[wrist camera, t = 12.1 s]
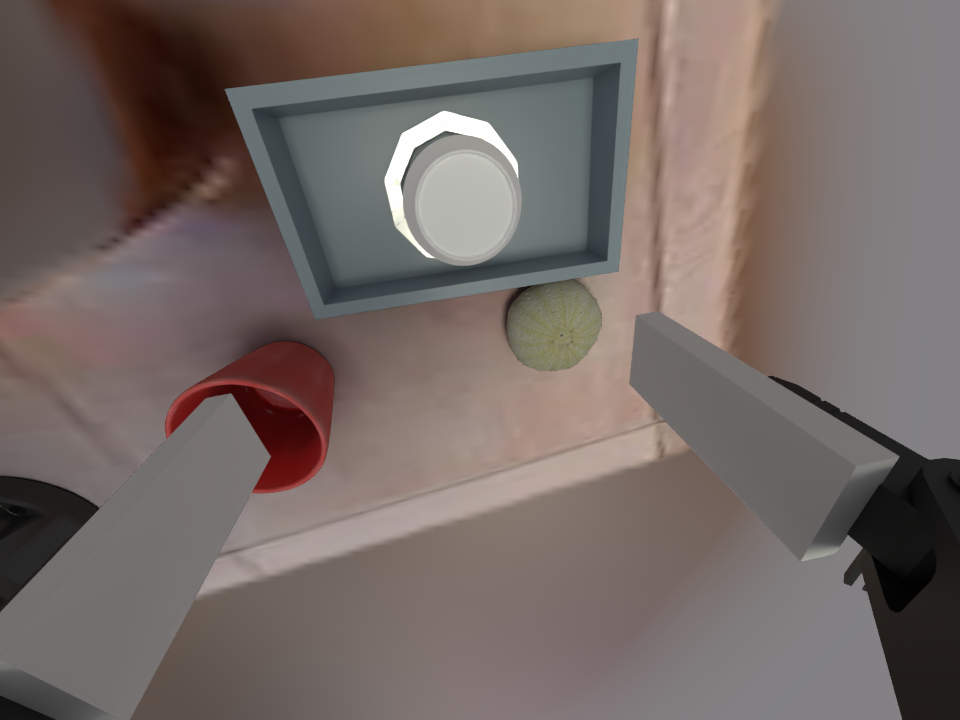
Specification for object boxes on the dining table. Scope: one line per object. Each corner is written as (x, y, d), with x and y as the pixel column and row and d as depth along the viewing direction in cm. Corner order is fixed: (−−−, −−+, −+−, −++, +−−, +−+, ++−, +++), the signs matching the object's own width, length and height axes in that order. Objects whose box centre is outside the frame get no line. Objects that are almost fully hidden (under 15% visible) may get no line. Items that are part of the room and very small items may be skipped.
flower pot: (346, 326, 32) (316, 382, 23) (354, 419, 37) (332, 492, 29) (219, 320, 30) (138, 379, 22) (247, 419, 35) (190, 497, 27)
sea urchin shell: (500, 376, 34) (520, 352, 27) (496, 304, 37) (514, 264, 29) (585, 376, 36) (628, 353, 28) (577, 307, 38) (614, 269, 30)
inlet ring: (407, 265, 29) (405, 272, 27) (374, 124, 24) (370, 120, 22) (516, 249, 29) (522, 254, 28) (508, 106, 24) (514, 101, 23)
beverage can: (488, 237, 28) (521, 276, 18) (412, 233, 28) (402, 272, 17) (494, 150, 26) (540, 137, 15) (410, 142, 25) (396, 123, 14)
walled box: (331, 298, 30) (315, 319, 26) (262, 103, 23) (224, 89, 19) (592, 257, 32) (618, 271, 27) (601, 61, 25) (638, 38, 20)
